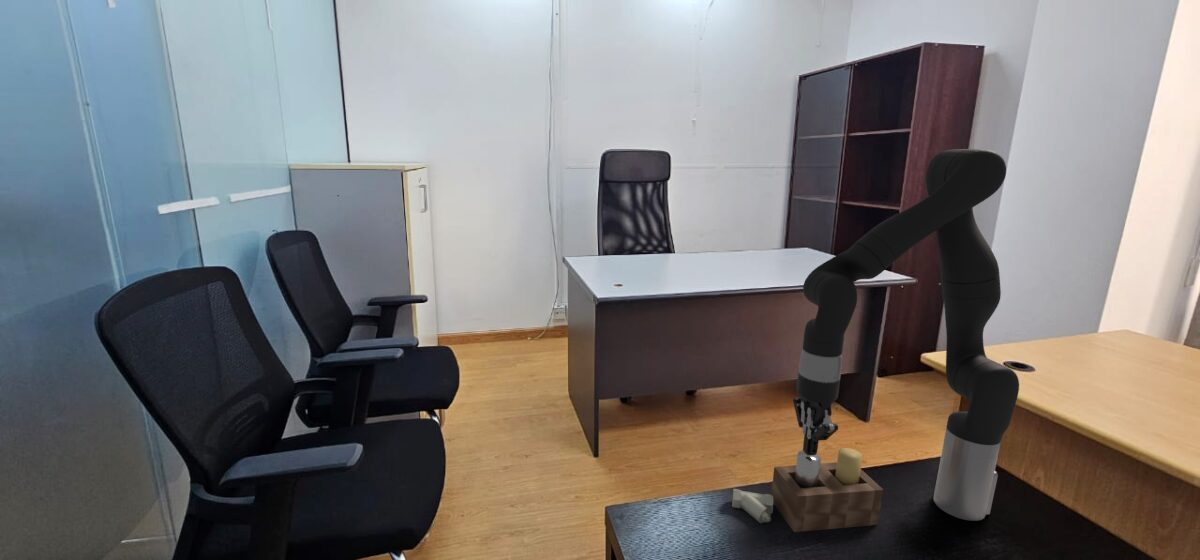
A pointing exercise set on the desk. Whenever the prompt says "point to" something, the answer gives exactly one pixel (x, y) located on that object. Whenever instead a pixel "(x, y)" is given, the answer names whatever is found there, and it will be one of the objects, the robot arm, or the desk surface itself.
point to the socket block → (825, 500)
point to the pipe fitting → (754, 504)
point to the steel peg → (807, 470)
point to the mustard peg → (848, 466)
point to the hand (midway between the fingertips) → (809, 453)
